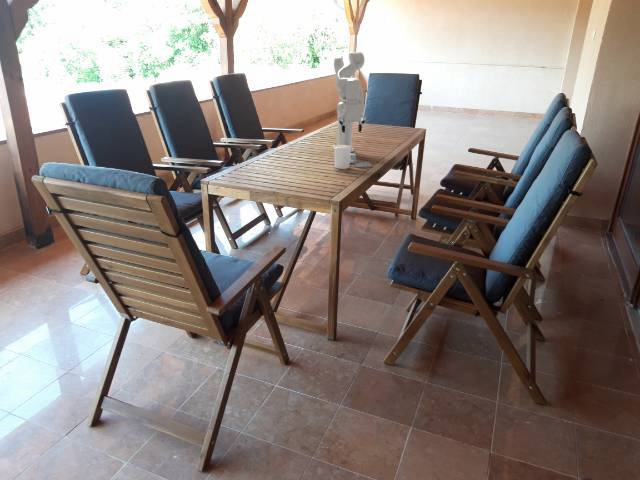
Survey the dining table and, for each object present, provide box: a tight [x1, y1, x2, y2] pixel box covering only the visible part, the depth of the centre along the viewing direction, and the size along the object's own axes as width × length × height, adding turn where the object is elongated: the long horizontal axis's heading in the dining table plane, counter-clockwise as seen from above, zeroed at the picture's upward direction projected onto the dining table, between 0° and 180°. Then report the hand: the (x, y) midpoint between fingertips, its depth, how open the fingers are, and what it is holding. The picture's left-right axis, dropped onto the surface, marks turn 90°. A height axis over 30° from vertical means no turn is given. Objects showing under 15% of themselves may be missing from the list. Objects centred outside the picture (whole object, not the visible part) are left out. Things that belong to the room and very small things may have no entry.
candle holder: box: [333, 144, 352, 170], centre depth 273 cm, size 10×10×12 cm
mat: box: [352, 161, 374, 169], centre depth 280 cm, size 10×9×1 cm
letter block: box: [350, 152, 357, 164], centre depth 286 cm, size 5×5×5 cm
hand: (351, 132), depth 280 cm, fingers open, 9 cm apart
